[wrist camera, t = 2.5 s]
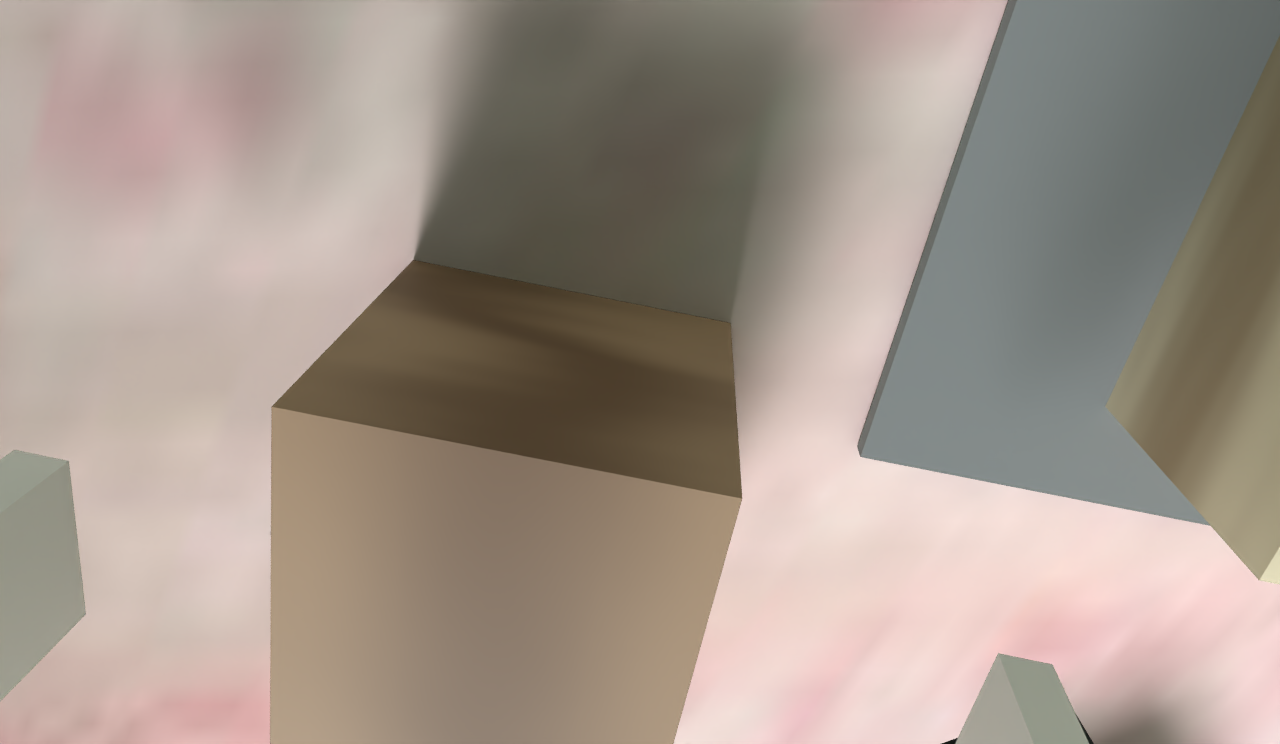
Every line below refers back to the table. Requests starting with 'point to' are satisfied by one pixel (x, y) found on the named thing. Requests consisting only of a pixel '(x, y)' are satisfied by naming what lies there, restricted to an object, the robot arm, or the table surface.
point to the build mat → (1064, 242)
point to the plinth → (1221, 347)
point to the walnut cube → (499, 518)
